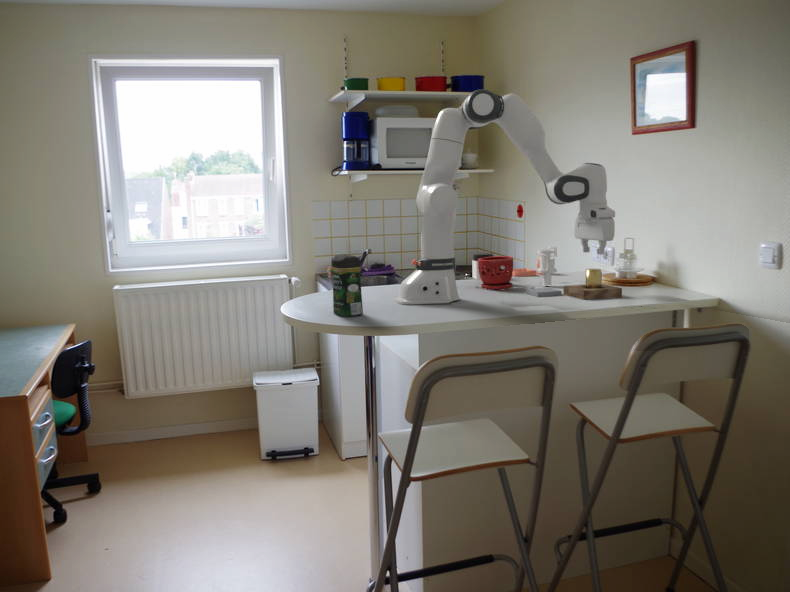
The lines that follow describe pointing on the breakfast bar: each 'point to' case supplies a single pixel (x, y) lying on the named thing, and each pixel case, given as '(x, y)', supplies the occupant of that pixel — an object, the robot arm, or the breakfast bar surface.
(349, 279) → the coffee jar
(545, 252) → the grey tall piece
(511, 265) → the plant pot
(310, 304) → the breakfast bar surface
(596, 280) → the brass peg
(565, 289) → the eye block
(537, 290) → the slate coaster
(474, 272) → the jar
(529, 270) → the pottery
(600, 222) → the robot arm
